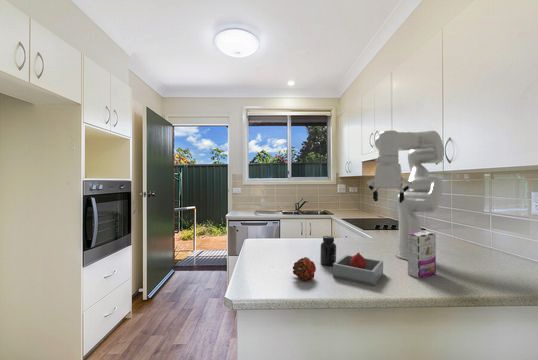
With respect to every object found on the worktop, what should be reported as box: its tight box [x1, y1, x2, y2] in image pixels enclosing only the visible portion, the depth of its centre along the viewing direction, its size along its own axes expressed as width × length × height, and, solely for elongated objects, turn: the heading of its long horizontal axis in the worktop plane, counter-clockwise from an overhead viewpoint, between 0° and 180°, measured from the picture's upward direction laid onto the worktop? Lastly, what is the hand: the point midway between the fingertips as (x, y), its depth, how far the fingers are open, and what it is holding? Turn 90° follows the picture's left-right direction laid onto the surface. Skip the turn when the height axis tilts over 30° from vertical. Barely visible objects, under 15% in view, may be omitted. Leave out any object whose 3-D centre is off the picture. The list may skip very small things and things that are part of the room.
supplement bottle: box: [319, 235, 337, 267], centre depth 115 cm, size 7×7×12 cm
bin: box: [332, 254, 384, 287], centre depth 102 cm, size 15×15×5 cm
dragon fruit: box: [292, 256, 317, 282], centre depth 99 cm, size 8×8×12 cm
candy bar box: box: [407, 230, 437, 279], centre depth 103 cm, size 11×5×16 cm, turn 117°
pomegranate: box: [351, 251, 366, 269], centre depth 102 cm, size 6×6×8 cm
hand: (388, 201), depth 108 cm, fingers open, 9 cm apart
